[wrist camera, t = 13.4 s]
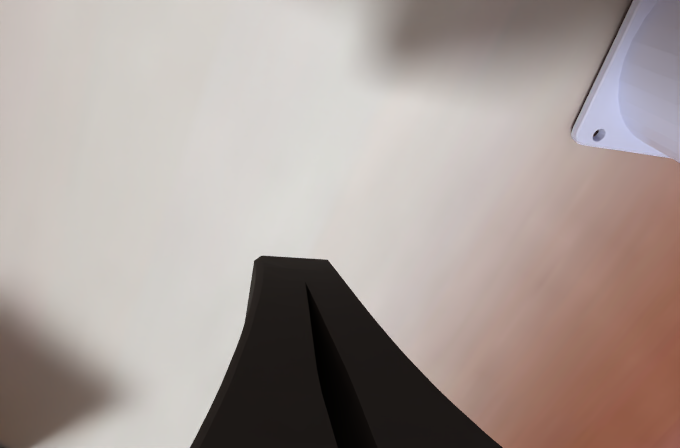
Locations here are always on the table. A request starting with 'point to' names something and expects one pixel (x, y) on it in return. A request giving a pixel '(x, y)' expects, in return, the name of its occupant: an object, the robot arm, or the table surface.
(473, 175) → the table surface
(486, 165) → the table surface
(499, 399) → the table surface
